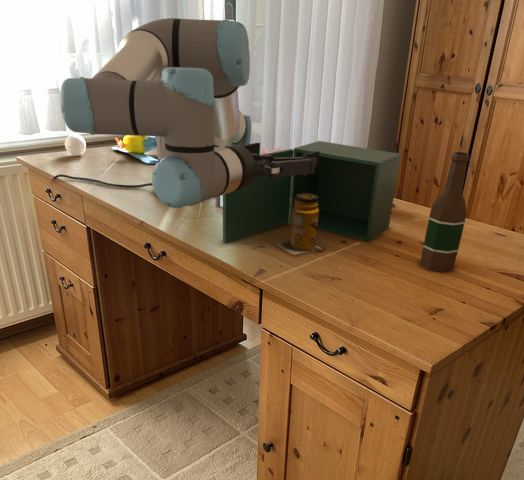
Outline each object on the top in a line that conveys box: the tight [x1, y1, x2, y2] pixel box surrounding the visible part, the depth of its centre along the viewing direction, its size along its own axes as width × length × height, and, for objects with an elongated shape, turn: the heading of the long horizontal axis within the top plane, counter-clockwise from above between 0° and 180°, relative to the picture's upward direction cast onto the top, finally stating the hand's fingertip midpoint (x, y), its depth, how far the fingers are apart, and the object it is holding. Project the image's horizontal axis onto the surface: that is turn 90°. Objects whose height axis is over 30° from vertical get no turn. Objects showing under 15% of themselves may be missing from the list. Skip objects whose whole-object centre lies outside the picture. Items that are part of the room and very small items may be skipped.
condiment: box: [275, 193, 323, 256], centre depth 123 cm, size 7×8×12 cm
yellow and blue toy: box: [111, 135, 158, 165], centre depth 199 cm, size 28×9×15 cm
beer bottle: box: [419, 151, 470, 273], centre depth 114 cm, size 8×8×24 cm
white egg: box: [64, 133, 87, 157], centre depth 194 cm, size 10×7×7 cm
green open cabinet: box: [289, 140, 402, 242], centre depth 137 cm, size 13×23×19 cm, turn 57°
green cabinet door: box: [213, 148, 294, 244], centre depth 131 cm, size 6×23×18 cm, turn 137°
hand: (287, 153), depth 109 cm, fingers open, 13 cm apart
